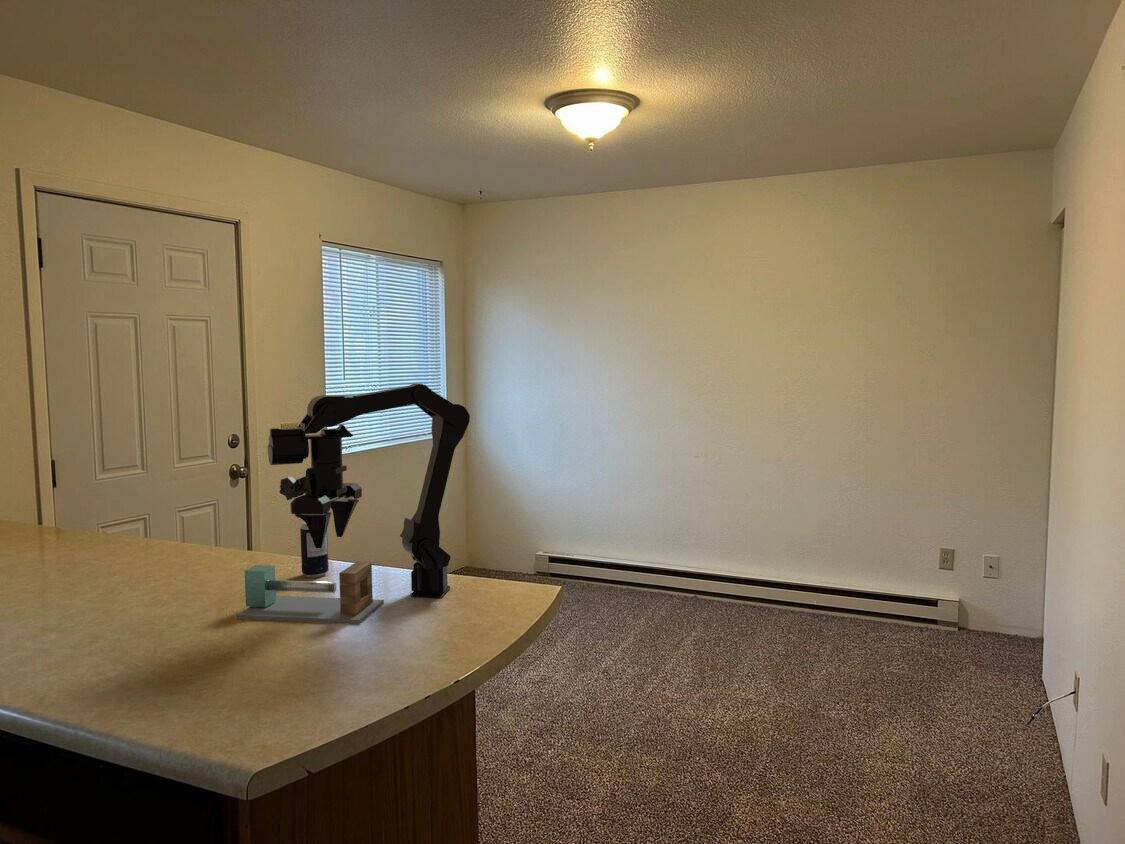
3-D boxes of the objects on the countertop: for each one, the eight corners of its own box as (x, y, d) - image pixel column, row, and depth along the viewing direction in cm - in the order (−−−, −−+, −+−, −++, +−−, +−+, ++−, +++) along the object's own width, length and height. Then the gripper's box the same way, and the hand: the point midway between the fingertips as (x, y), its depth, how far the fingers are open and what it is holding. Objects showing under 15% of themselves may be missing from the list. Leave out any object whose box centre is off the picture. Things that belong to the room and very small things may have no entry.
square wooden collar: (372, 602, 152) (371, 562, 151) (356, 616, 144) (354, 573, 143) (358, 602, 152) (356, 561, 152) (340, 615, 144) (339, 573, 144)
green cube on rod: (339, 603, 151) (338, 567, 150) (330, 609, 147) (328, 573, 146) (257, 600, 153) (255, 564, 153) (245, 606, 149) (244, 570, 149)
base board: (384, 603, 154) (383, 599, 154) (359, 624, 142) (359, 620, 142) (269, 599, 157) (269, 595, 157) (236, 619, 145) (236, 614, 145)
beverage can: (332, 571, 177) (330, 519, 176) (322, 578, 172) (320, 524, 171) (308, 571, 178) (306, 519, 177) (297, 578, 172) (295, 524, 171)
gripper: (309, 455, 159) (312, 530, 160) (261, 468, 141) (265, 553, 142) (361, 455, 158) (363, 532, 159) (320, 468, 139) (323, 555, 140)
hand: (329, 542), depth 150 cm, fingers open, 9 cm apart
